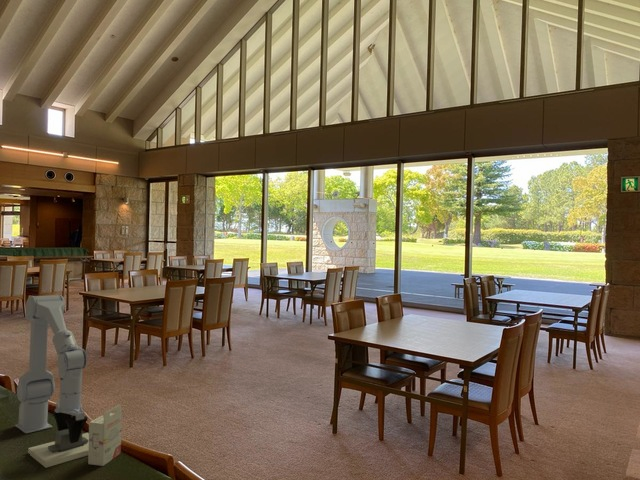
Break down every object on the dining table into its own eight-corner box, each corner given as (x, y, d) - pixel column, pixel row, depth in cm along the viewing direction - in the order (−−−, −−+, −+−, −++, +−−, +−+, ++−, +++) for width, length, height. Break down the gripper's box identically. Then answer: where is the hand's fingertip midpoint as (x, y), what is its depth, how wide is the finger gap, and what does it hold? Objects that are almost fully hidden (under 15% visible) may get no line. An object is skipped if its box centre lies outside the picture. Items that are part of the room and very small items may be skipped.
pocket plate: (27, 453, 142) (28, 448, 142) (87, 437, 155) (87, 432, 155) (45, 467, 134) (45, 462, 134) (107, 449, 147) (107, 444, 147)
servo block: (47, 454, 142) (48, 431, 142) (82, 445, 150) (83, 423, 150) (52, 459, 139) (53, 435, 140) (88, 448, 147) (89, 426, 147)
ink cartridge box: (106, 452, 145) (108, 401, 145) (121, 454, 144) (123, 403, 144) (86, 464, 137) (88, 411, 137) (102, 466, 136) (104, 412, 136)
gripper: (46, 388, 147) (44, 435, 146) (66, 400, 137) (64, 449, 137) (70, 384, 152) (69, 428, 152) (92, 395, 142) (90, 442, 142)
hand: (68, 438), depth 145 cm, fingers open, 7 cm apart
